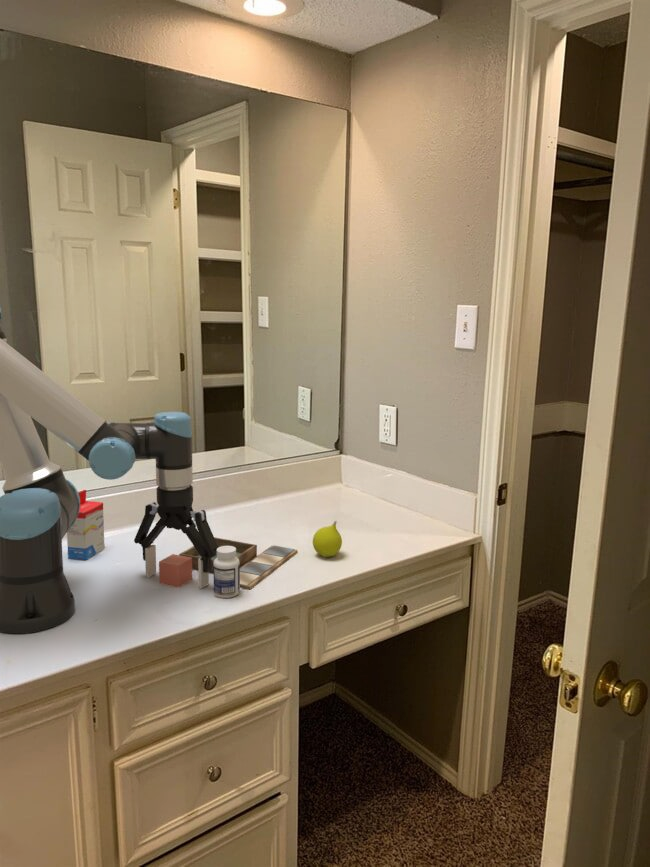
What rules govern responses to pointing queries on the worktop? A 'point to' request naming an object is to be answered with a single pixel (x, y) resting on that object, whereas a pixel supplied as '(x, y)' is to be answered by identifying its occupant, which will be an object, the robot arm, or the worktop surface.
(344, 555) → the worktop surface
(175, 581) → the salmon red cube
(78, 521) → the ink box
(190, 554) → the dice tray
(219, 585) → the pill bottle
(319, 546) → the green gourd
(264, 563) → the board
